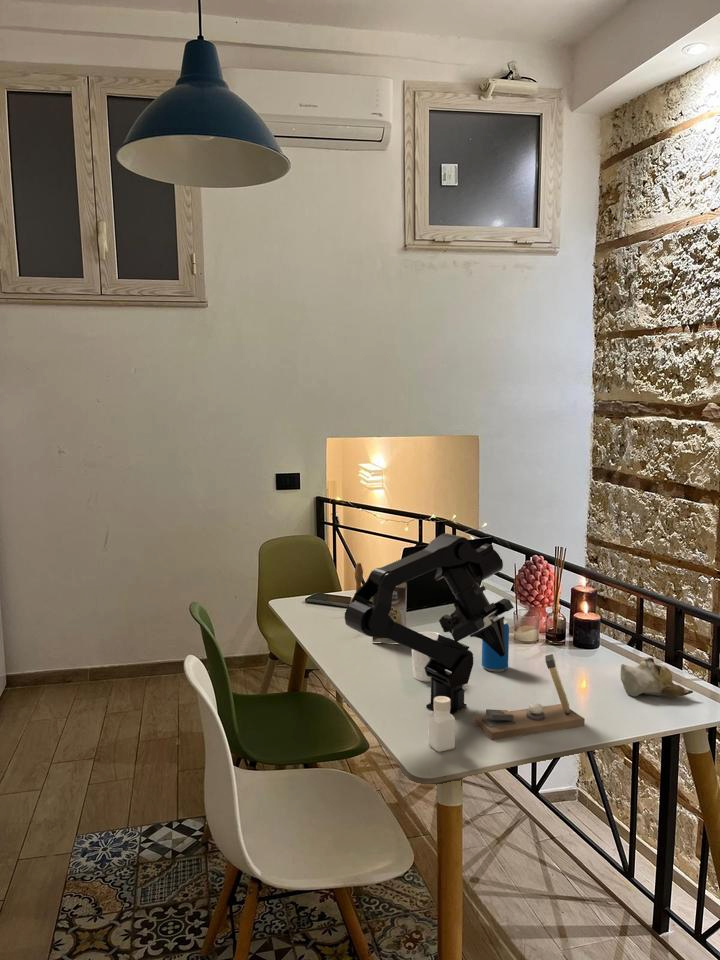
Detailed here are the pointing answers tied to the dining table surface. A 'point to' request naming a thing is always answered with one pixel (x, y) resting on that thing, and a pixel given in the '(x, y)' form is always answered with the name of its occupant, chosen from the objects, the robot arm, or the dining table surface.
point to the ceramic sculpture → (650, 680)
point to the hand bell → (358, 577)
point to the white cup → (422, 660)
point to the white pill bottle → (441, 725)
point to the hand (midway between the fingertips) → (503, 655)
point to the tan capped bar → (557, 683)
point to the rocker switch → (499, 714)
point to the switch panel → (529, 722)
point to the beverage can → (492, 658)
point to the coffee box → (395, 608)
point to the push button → (535, 708)
